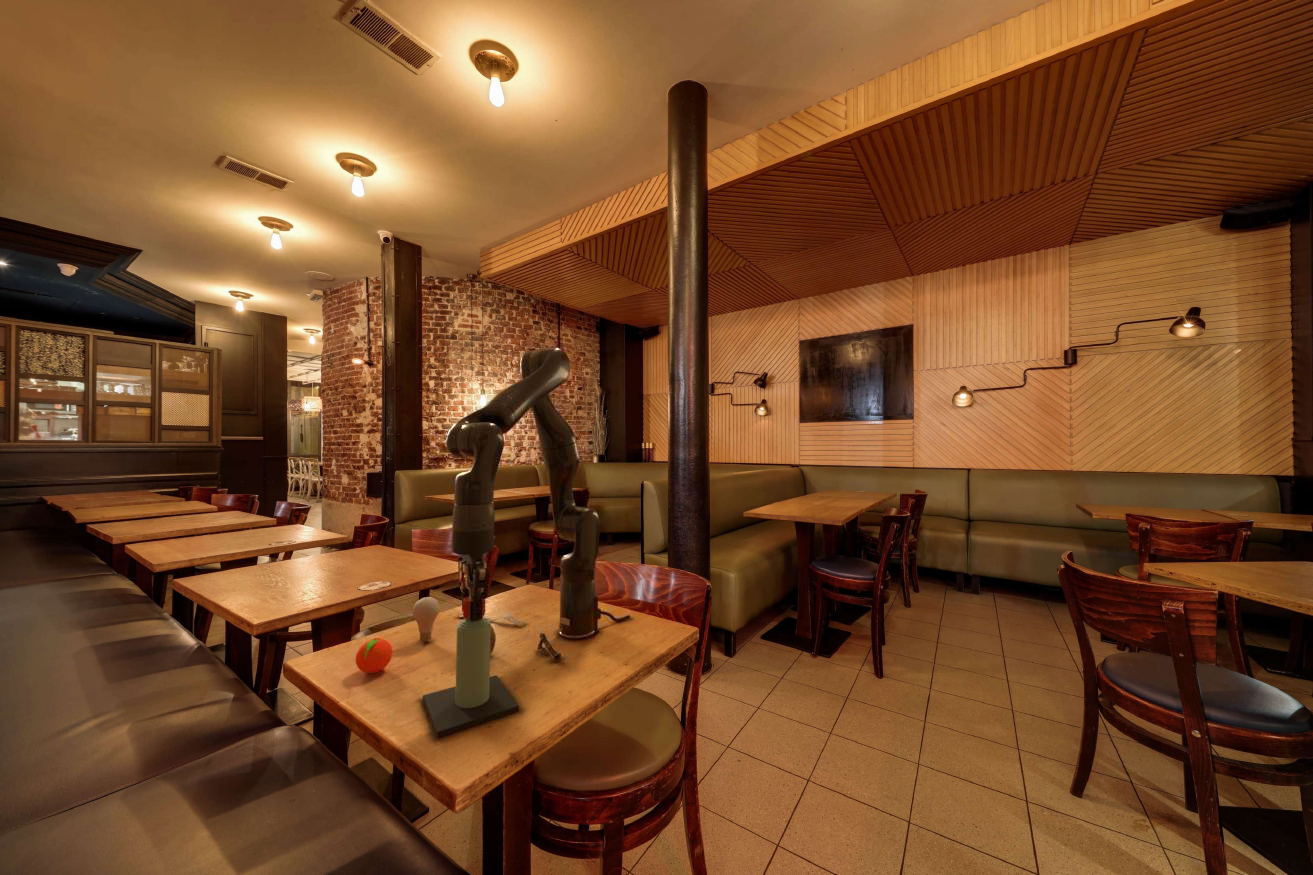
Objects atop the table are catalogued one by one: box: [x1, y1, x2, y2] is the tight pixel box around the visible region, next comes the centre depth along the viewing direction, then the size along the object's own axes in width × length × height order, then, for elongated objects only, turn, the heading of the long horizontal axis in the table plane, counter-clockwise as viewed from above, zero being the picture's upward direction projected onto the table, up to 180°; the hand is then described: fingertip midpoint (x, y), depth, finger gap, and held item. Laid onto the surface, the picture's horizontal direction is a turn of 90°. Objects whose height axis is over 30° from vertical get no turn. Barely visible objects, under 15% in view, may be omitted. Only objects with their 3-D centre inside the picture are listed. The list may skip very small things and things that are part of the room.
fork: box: [458, 613, 525, 628], centre depth 129 cm, size 3×21×3 cm, turn 72°
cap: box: [462, 596, 486, 619], centre depth 88 cm, size 4×4×3 cm
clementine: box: [355, 637, 394, 674], centre depth 99 cm, size 8×7×7 cm
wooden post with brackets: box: [537, 632, 562, 663], centre depth 108 cm, size 2×8×4 cm, turn 46°
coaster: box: [422, 674, 520, 739], centre depth 87 cm, size 14×14×1 cm
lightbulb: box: [411, 596, 441, 643], centre depth 115 cm, size 6×6×11 cm
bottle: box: [455, 615, 492, 708], centre depth 87 cm, size 6×6×18 cm
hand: (471, 615), depth 87 cm, fingers open, 5 cm apart
